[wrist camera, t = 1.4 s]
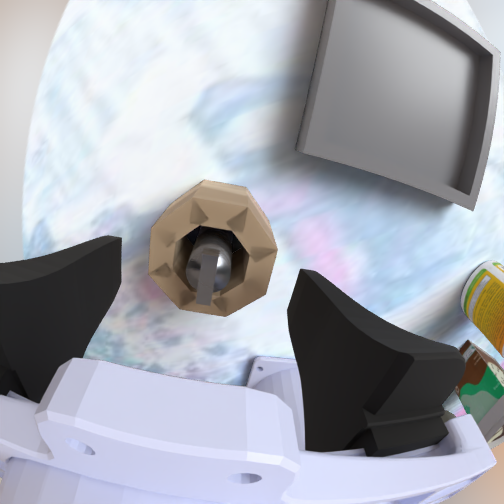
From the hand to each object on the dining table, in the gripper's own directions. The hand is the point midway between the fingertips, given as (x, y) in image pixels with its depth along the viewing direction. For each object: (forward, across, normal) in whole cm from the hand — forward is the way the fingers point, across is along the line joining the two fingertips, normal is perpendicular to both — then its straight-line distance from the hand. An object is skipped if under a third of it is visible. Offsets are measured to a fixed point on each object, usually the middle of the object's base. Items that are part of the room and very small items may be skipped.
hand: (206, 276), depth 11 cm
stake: (+5, 0, 0) cm, 5 cm away
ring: (+5, 0, 0) cm, 5 cm away
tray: (+5, -9, -11) cm, 15 cm away
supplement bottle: (+6, -22, +1) cm, 23 cm away
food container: (+5, -28, +11) cm, 31 cm away
